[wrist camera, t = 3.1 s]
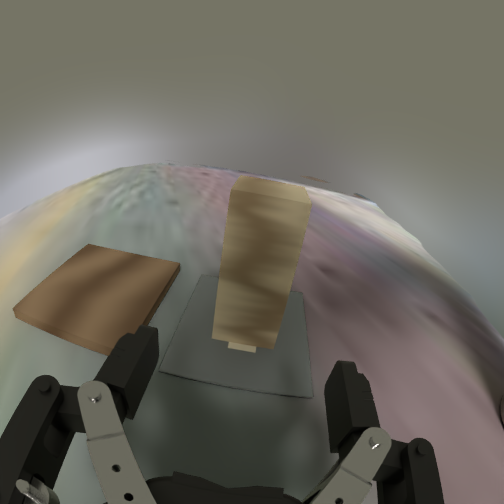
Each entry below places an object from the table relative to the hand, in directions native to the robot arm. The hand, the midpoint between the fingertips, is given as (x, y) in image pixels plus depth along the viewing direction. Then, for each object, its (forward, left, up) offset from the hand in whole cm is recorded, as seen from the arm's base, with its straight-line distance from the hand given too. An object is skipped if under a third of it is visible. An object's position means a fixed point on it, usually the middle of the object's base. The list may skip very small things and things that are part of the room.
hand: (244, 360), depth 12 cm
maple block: (0, -11, -7) cm, 13 cm away
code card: (0, -11, -7) cm, 13 cm away
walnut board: (+14, -11, -7) cm, 19 cm away
